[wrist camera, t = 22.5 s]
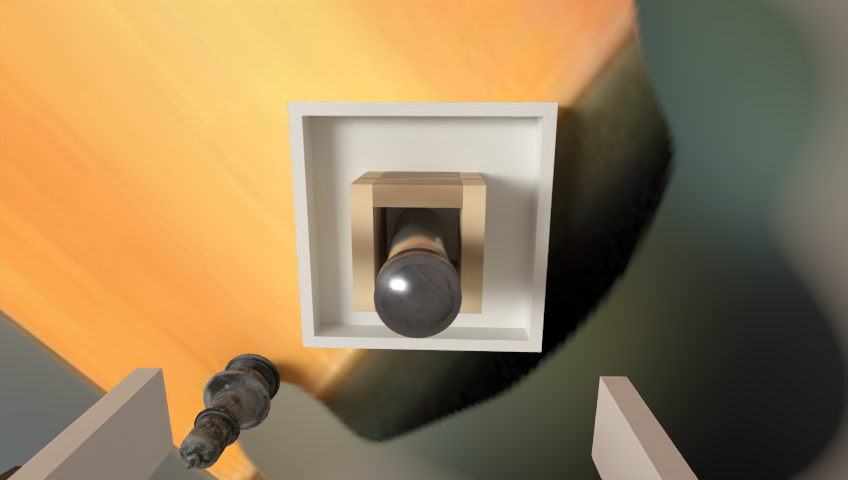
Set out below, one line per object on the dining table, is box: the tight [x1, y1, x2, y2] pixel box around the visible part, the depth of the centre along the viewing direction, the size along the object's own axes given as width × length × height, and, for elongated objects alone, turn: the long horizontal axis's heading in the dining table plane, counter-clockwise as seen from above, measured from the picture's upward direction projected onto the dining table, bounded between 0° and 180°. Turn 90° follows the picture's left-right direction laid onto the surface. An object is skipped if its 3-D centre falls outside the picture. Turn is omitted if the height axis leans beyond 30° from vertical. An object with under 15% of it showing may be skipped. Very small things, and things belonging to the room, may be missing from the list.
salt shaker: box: [180, 354, 280, 469], centre depth 40 cm, size 6×6×12 cm
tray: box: [288, 102, 558, 352], centre depth 40 cm, size 20×20×3 cm
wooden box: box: [350, 171, 486, 314], centre depth 37 cm, size 9×9×8 cm
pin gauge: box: [374, 207, 462, 338], centre depth 34 cm, size 5×5×15 cm
